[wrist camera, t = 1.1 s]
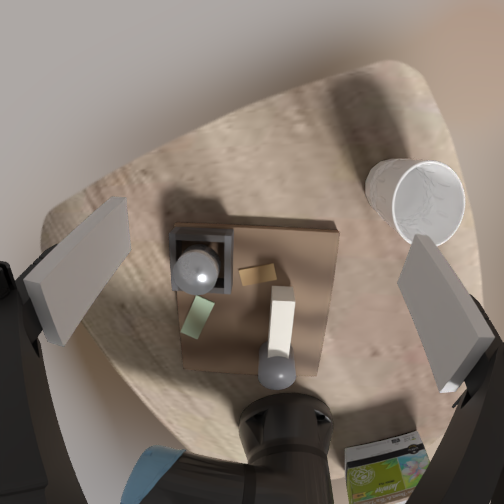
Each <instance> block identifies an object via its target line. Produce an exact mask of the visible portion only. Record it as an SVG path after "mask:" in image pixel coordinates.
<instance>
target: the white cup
mask: <svg viewBox="0 0 504 504" xmlns="http://www.w3.org/2000/svg"><path fill="white" fill-rule="evenodd" d="M365 195H366V197H367V199H368V202H369V204H370V206H371V207H372V208H373V209H374V210H375V211H377V213H378V214H379V216H380V217H381V218H382V219H383V220H384V221H385V222H386V223H387V224H388V225H389V226H390V227H392V228H393V229H394V230H395V231H396V232H397V233H398V234H399V235H400V236H401V237H402V238H403V239H405V240H406V241H407V242H408V243H410V244H412V241H413V238H414V236H415V234H420V235H426V236H429V237H430V238H431V240H432V241H433V242H434V244H435V245H436V246H438V245H441V244H442V243H444V242H446V241H447V240H448V239H449V238H450V237H451V236H452V235H453V234H454V233H455V232H456V230H457V229H458V227H459V225H460V223H461V221H462V218H463V215H464V210H465V193H464V189H463V185H462V183H461V181H460V179H459V177H458V175H457V174H456V173H455V172H454V170H453V169H451V168H450V167H449V166H448V165H446V164H444V163H442V162H439V161H434V160H422V159H404V158H402V159H388V160H384V161H380V162H379V163H378V164H376V165H375V166H374V167H373V168H372V169H371V170H370V172H369V174H368V177H367V179H366V181H365Z"/></svg>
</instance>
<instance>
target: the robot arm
mask: <svg viewBox="0 0 504 504" xmlns="http://www.w3.org/2000/svg"><path fill="white" fill-rule="evenodd" d="M130 251H131V243H130V233H129V223H128V212H127V200H126V198H125V197H111V198H110V199H108V200H107V201H106V202H105V203H104V204H102V205H101V206H100V207H99V208H98V209H97V210H95V211H94V212H93V213H92V214H91V215H90V216H88V217H87V218H86V219H85V220H84V221H83V222H82V223H81V224H80V225H78V226H77V227H76V228H75V229H74V230H73V231H72V232H71V233H70V234H69V235H67V236H66V237H65V238H64V239H63V240H62V241H61V242H60V243H59V244H56V245H54V246H52V247H50V248H48V249H47V250H45V251H44V252H43V253H42V254H41V255H40V256H39V259H38V258H37V259H36V260H35V261H34V262H33V265H30V266H29V267H28V268H27V269H26V270H25V271H24V272H23V273H22V274H21V275H20V277H18V278H17V279H16V280H14V278H13V274H12V271H11V268H10V265H9V264H8V263H7V262H3V261H0V504H88V503H87V500H86V498H85V496H84V494H83V491H82V489H81V487H80V484H79V482H78V479H77V477H76V475H75V471H74V469H73V467H72V463H71V461H70V458H69V455H68V452H67V449H66V446H65V443H64V440H63V437H62V434H61V430H60V427H59V424H58V420H57V417H56V413H55V409H54V406H53V402H52V398H51V394H50V389H49V385H48V380H47V376H46V371H45V366H44V361H43V355H42V349H41V344H40V341H39V339H38V335H39V334H40V333H41V331H42V330H43V332H44V335H45V337H46V339H47V341H48V342H50V343H53V344H56V345H59V346H62V347H64V346H65V345H66V343H67V341H68V340H69V338H70V337H71V335H72V334H73V332H74V330H75V329H76V327H77V326H78V324H79V323H80V321H81V320H82V318H83V317H84V315H85V314H86V312H87V311H88V309H89V308H90V307H91V305H92V304H93V302H94V301H95V299H96V298H97V296H98V295H99V294H100V292H101V291H102V289H103V288H104V286H105V285H106V284H107V282H108V281H109V279H110V278H111V277H112V275H113V274H114V273H115V271H116V270H117V268H118V267H119V266H120V264H121V263H122V262H123V260H124V259H125V258H126V256H127V255H128V254H129V252H130ZM397 284H398V286H399V288H400V290H401V293H402V295H403V297H404V300H405V302H406V304H407V307H408V309H409V311H410V314H411V316H412V319H413V321H414V324H415V326H416V329H417V331H418V334H419V336H420V339H421V342H422V344H423V347H424V350H425V352H426V355H427V358H428V360H429V363H430V366H431V369H432V372H433V375H434V378H435V381H436V384H437V387H438V390H439V393H443V392H456V390H457V389H458V388H459V387H460V385H461V384H462V383H463V382H464V381H465V384H466V386H467V389H466V390H465V391H464V393H463V394H462V395H461V396H460V397H459V398H458V400H457V401H456V402H455V403H454V404H453V406H452V408H454V407H455V406H456V405H458V406H457V408H456V410H455V413H454V415H453V417H452V419H451V422H450V424H449V426H448V428H447V430H446V432H445V434H444V437H443V439H442V441H441V443H440V445H439V446H438V448H437V450H436V452H435V454H434V456H433V458H432V460H431V462H430V463H429V465H428V467H427V469H426V471H425V472H424V474H423V476H422V477H421V479H420V481H419V482H418V484H417V486H416V487H415V489H414V491H413V492H412V494H411V495H410V497H409V498H408V500H407V501H406V503H405V504H489V503H490V501H491V503H490V504H504V342H502V340H501V338H500V336H499V334H498V333H497V331H496V329H495V328H494V326H493V324H492V322H491V321H490V320H489V317H488V316H487V314H486V313H485V311H484V309H483V308H482V306H481V304H480V303H479V302H478V301H477V300H476V299H475V298H474V297H473V296H472V295H471V294H469V293H468V291H467V290H466V288H465V287H464V285H463V284H462V282H461V281H460V279H459V278H458V276H457V275H456V273H455V272H454V270H453V269H452V267H451V266H450V264H449V263H448V262H447V260H446V259H445V257H444V256H443V255H442V253H441V252H440V250H439V249H438V248H437V246H436V245H435V244H434V242H433V241H432V240H431V238H430V237H429V236H426V235H420V234H415V236H414V238H413V241H412V244H411V247H410V250H409V253H408V256H407V258H406V261H405V264H404V267H403V269H402V272H401V274H400V277H399V280H398V282H397ZM332 433H333V420H332V415H331V412H330V410H329V408H328V407H327V406H326V405H325V404H324V403H323V402H322V401H320V400H318V399H316V398H314V397H311V396H308V395H303V394H294V393H286V394H277V395H272V396H268V397H265V398H262V399H260V400H258V401H256V402H254V403H252V404H251V405H250V406H248V407H247V408H246V409H245V410H244V412H243V413H242V415H241V417H240V423H239V436H240V440H241V442H242V445H243V448H244V451H245V454H246V457H247V460H248V464H243V463H238V462H232V461H227V460H222V459H217V458H212V457H208V456H203V455H199V454H194V453H190V452H186V450H184V449H182V450H178V449H174V448H169V447H165V446H160V445H154V446H151V447H149V448H147V449H146V450H145V451H144V452H143V453H142V455H141V456H140V458H139V459H138V461H137V463H136V465H135V467H134V468H133V471H132V473H131V475H130V477H129V479H128V481H127V484H126V486H125V489H124V492H123V494H122V497H121V503H120V504H334V500H333V493H332V486H331V479H330V473H329V466H328V460H327V454H328V450H329V446H330V441H331V437H332Z"/></svg>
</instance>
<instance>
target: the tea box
mask: <svg viewBox="0 0 504 504" xmlns="http://www.w3.org/2000/svg"><path fill="white" fill-rule="evenodd" d="M429 463H430V461H429V458H428V455H427V453H426V450H425V447H424V445H423V442H422V440H421V438H420V435H419V433H418V431H414V432H411V433H408V434H405V435H402V436H398V437H394V438H390V439H386V440H383V441H378V442H373V443H369V444H364V445H359V446H354V447H348V448H345V479H346V486H347V492H348V499H349V504H405V503H406V501H407V500H408V498H409V497H410V495H411V494H412V492H413V491H414V489H415V487H416V486H417V484H418V482H419V481H420V479H421V477H422V476H423V474H424V472H425V471H426V469H427V467H428V465H429Z"/></svg>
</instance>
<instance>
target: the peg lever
mask: <svg viewBox="0 0 504 504" xmlns="http://www.w3.org/2000/svg"><path fill="white" fill-rule="evenodd" d="M294 309H295V297H294V291H293V287H288V286H272V291H271V305H270V319H269V332H268V341H266V342H265V343H263V344H262V346H261V347H260V349H259V367H258V379H259V382H260V383H261V384H262V385H263V386H264V387H266V388H268V389H272V390H281V389H285V388H287V387H289V386H290V385H292V384H293V383H294V381H295V379H296V371H295V361H294V352H293V347H292V346H291V344H290V343H291V335H292V327H293V318H294Z"/></svg>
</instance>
